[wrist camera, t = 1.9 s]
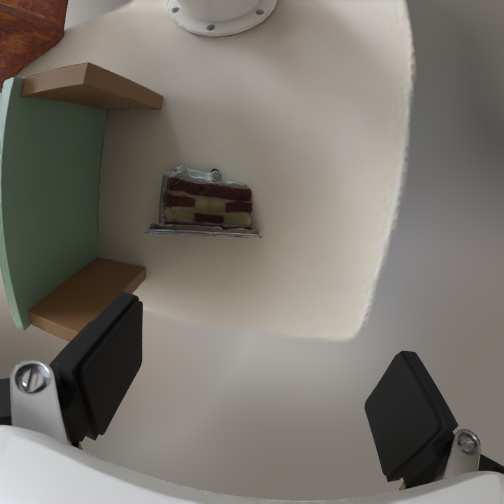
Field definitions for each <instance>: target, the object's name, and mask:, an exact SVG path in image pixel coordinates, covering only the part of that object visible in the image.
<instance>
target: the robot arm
mask: <svg viewBox="0 0 504 504" xmlns="http://www.w3.org/2000/svg"><path fill="white" fill-rule="evenodd" d="M276 3H277V0H168V10H169V13H170V15H171V17H172V18H173V20H174V21H175V22H176V23H177V24H178V25H179V26H180V27H181V28H183V29H184V30H186V31H188V32H191V33H193V34H197V35H202V36H213V37H214V36H227V35H232V34H237V33H240V32H243V31H246V30H248V29H250V28H252V27H254V26H256V25H258V24H259V23H261V22H262V21H264V20H265V19H266V18H267V17H268V16H269V15H270V14H271V12H272V11H273V10H274V8H275V6H276ZM259 14H261V15H259ZM212 29H214V30H212ZM211 30H212V31H211ZM142 314H143V303H142V302H141V301H139V298H138V296H136V295H133V294H129V293H126V292H121V293H120V294H119V295H118V296H117V297H116V298H115V299H114V300H113V301H112V302H111V303H110V304H109V305H108V306H107V307H106V308H105V309H104V310H103V311H102V312H101V313H100V314H99V315H98V316H97V317H96V318H95V319H94V320H91V321H90V322H88V323H87V325H86V326H85V327H84V328H83V329H82V330H81V331H80V332H79V333H78V334H77V335H76V336H75V337H74V338H73V339H72V340H71V341H70V343H69V344H68V345H67V346H66V347H65V348H64V349H63V350H62V351H61V352H60V353H59V355H58V356H57V357H56V358H55V359H54V360H53V361H52V362H51V363H50V365H47V364H46V363H44V362H42V361H39V360H26V361H23V362H21V363H19V364H18V365H17V366H15V367H14V369H13V371H12V372H11V377H10V378H7V379H0V504H504V466H501V465H500V464H498V463H497V462H495V461H493V460H491V459H489V458H487V457H485V456H484V455H482V454H480V453H481V444H480V440H479V439H478V437H477V436H476V435H475V434H474V433H473V432H471V431H470V430H467V429H461V430H458V431H457V432H456V433H455V434H453V431H454V430H455V428H457V426H458V424H457V422H456V420H455V418H454V416H453V414H452V412H451V411H450V409H449V407H448V405H447V404H446V402H445V400H444V398H443V396H442V395H441V393H440V391H439V390H438V388H437V386H436V384H435V383H434V381H433V380H432V378H431V376H430V374H429V373H428V371H427V370H426V368H425V366H424V365H423V363H422V362H421V360H420V358H419V357H418V355H417V354H416V353H415V352H410V351H401V352H400V353H399V354H397V355H396V356H395V357H394V359H393V360H392V362H391V364H390V365H389V367H388V369H387V370H386V372H385V373H384V375H383V377H382V378H381V380H380V381H379V383H378V384H377V386H376V387H375V389H374V390H373V392H372V393H371V395H370V396H369V397H368V399H367V400H366V403H365V411H366V415H367V418H368V421H369V425H370V428H371V431H372V434H373V438H374V441H375V445H376V449H377V452H378V456H379V460H380V464H381V467H382V471H383V473H384V475H386V477H387V481H388V482H391V481H396V480H399V479H401V478H402V477H403V480H404V481H403V483H402V485H401V487H400V489H399V491H395V492H390V493H385V494H378V495H372V496H364V497H356V498H347V499H336V500H335V499H334V500H314V501H313V500H311V501H294V500H293V501H292V500H290V501H289V500H270V499H257V498H248V497H239V496H231V495H225V494H219V493H213V492H208V491H203V490H198V489H194V488H189V487H185V486H181V485H177V484H174V483H170V482H167V481H163V480H160V479H156V478H153V477H150V476H147V475H144V474H141V473H138V472H135V471H132V470H129V469H127V468H124V467H121V466H119V465H116V464H114V463H111V462H108V461H106V460H104V459H102V458H99V457H97V456H95V455H92V454H90V453H88V452H85V451H83V449H82V446H81V443H80V442H81V441H83V439H84V437H85V436H87V437H89V438H91V439H93V440H96V438H97V436H98V434H100V435H103V434H104V433H105V432H106V429H107V428H108V426H109V424H110V422H111V420H112V418H113V416H114V414H115V412H116V411H117V409H118V407H119V405H120V403H121V401H122V400H123V398H124V396H125V394H126V392H127V390H128V389H129V387H130V385H131V383H132V381H133V379H134V378H135V376H136V374H137V372H138V371H139V369H140V366H141V363H142V316H143V315H142Z"/></svg>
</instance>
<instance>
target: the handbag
mask: <svg viewBox="0 0 504 504" xmlns="http://www.w3.org/2000/svg"><path fill="white" fill-rule="evenodd" d="M67 5H68V0H0V87H1V86H2V85H3V84H4V81H5V80H7V79H10V78H11V77H12V76H13V75H15V74H16V73H17V72H18V71H20V70H21V69H22V68H23V67H25V66H26V65H27V64H29V63H30V62H31V61H33V60H34V59H36V58H37V57H38V56H40V55H41V54H43V53H44V52H46V51H47V50H49V49H50V48H52V47H53V46H55V45H56V44H57V42H58V41H59V40H60V38H61V37H62V36H63V33H64V24H65V17H66V11H67Z"/></svg>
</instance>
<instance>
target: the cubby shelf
mask: <svg viewBox="0 0 504 504" xmlns="http://www.w3.org/2000/svg"><path fill="white" fill-rule="evenodd" d="M162 100H163V96H161V95H159V94H157V93H155V92H153V91H151V90H149V89H147V88H145V87H143V86H141V85H139V84H137V83H135V82H133V81H130V80H128V79H126V78H124V77H122V76H120V75H117V74H115V73H113V72H110V71H108V70H106V69H103V68H101V67H99V66H96V65H94V64H91V63H89V62H87V63H82V64H76V65H72V66H67V67H63V68H58V69H54V70H50V71H47V72H43V73H39V74H36V75H33V76H29V77H26V78H20V77H12V78H10V79H7V80H5V81H4V85H3V89H2V94H1V99H0V268H1V273H2V278H3V283H4V287H5V291H6V295H7V300H8V304H9V307H10V311H11V314H12V318H13V321H14V324H15V326H17V327H19V328H20V329H22V330H25V329H27V327H29V326H30V325H31V324H32V325H34V326H36V327H38V328H40V329H42V330H44V331H46V332H48V333H51V334H53V335H55V336H57V337H60V338H62V339H64V340H67V341H69V342H70V341H71V340H72V339H73V338H74V337H75V336H76V335H77V334H78V333H79V332H80V331H81V330H82V329H83V328H84V327H85V326H86V325H87V323H88V322H90V321H91V320H94V319H95V318H96V317H97V316H98V315H99V314H100V313H101V312H102V311H103V310H104V309H105V308H106V307H107V306H108V305H109V304H110V303H111V302H112V301H113V300H114V299H115V298H116V297H117V296H118V295H119V294H120V293H121V292H126V293H129V294H132V293H133V292H134V291H135V290H136V289H137V288H138V286H139V285H140V284H141V283H142V282H143V281H144V280H145V268H144V267H139V266H135V265H130V264H126V263H121V262H117V261H112V260H108V259H104V258H100V257H98V191H99V175H100V163H101V153H102V144H103V136H104V129H105V122H106V116H107V110H119V109H149V110H161V106H162Z"/></svg>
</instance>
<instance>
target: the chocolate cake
mask: <svg viewBox="0 0 504 504" xmlns="http://www.w3.org/2000/svg"><path fill="white" fill-rule="evenodd" d="M251 194H252V193H251V190H250V189H249V188H248V187H247V185H244V184H240V183H236V182H227V183H226V182H223V181H221V173H220V172H219V170H217V169H213V170H212V171H211V173H206V172H203V171H197V170H193V169H188V168H187V166H185V165H181V166H180V167H176V169H175V172H174V171H168V172H166V173H165V174H164V176H163V180H162V187H161V195H160V212H159V223H158V224H151V226H150V228H149V229H148V230H147V231H146V232H145V233H147V234H148V233H153V234H154V233H158V234H177V235H178V234H184V235H185V234H187V235H212V236H217V235H219V236H235V237H246V238H247V237H255V238H256V237H258V238H262V237H261V236H260V235H259V231H258V230H253V229H251V224H252V219H251V217H250V214H251V212H252V202H251V196H252V195H251Z"/></svg>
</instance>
